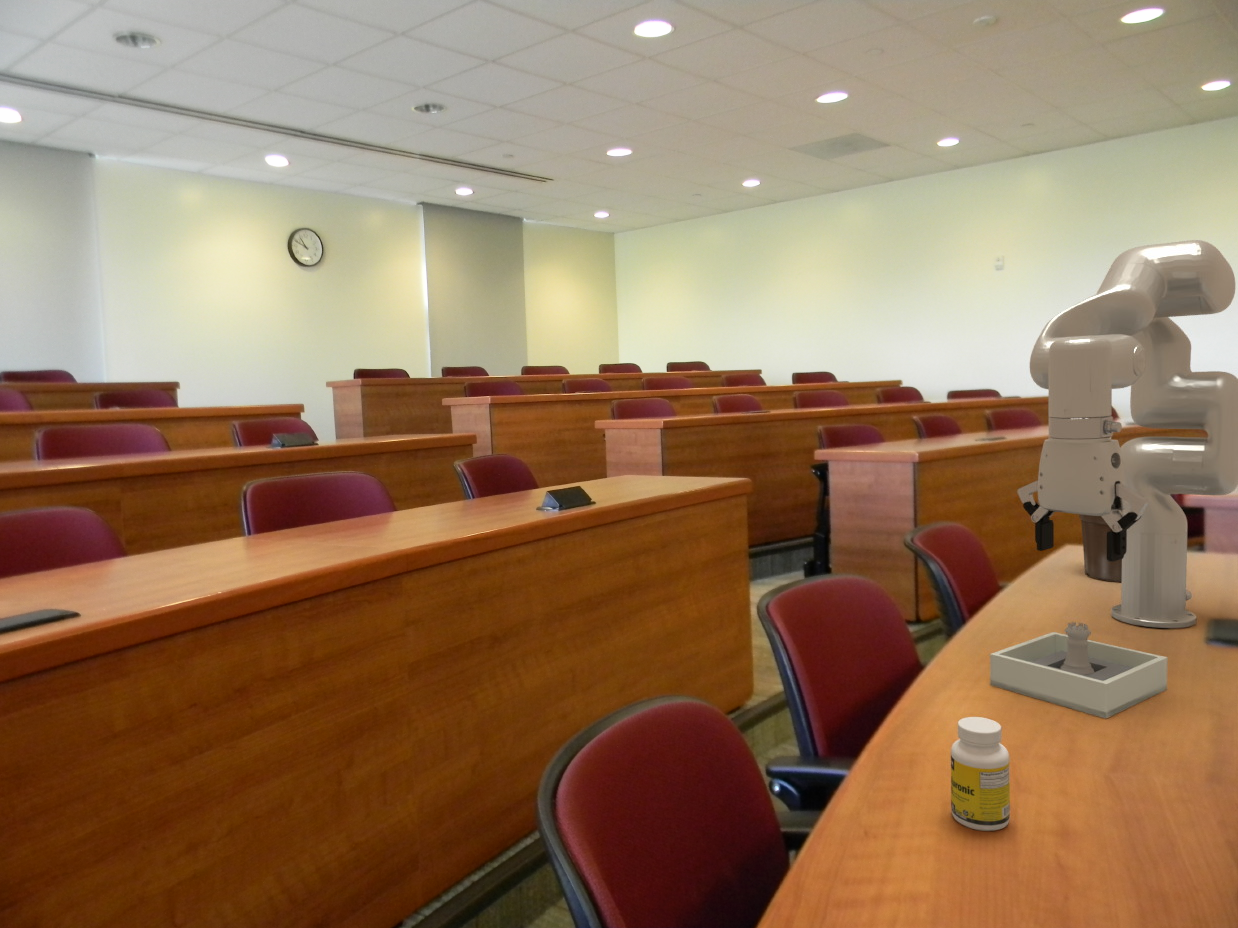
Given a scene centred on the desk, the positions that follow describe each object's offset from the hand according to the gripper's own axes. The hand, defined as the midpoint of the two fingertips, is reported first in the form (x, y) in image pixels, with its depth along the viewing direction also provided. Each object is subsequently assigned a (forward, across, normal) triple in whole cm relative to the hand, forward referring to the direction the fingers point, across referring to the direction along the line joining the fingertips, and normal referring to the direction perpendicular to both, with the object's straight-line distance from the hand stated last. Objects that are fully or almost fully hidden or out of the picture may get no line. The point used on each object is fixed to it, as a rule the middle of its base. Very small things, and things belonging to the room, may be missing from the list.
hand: (1079, 554), depth 120 cm
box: (+19, 0, +1) cm, 19 cm away
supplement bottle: (+18, -13, +43) cm, 48 cm away
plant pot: (+20, +28, -67) cm, 76 cm away
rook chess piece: (+18, 0, +1) cm, 18 cm away
